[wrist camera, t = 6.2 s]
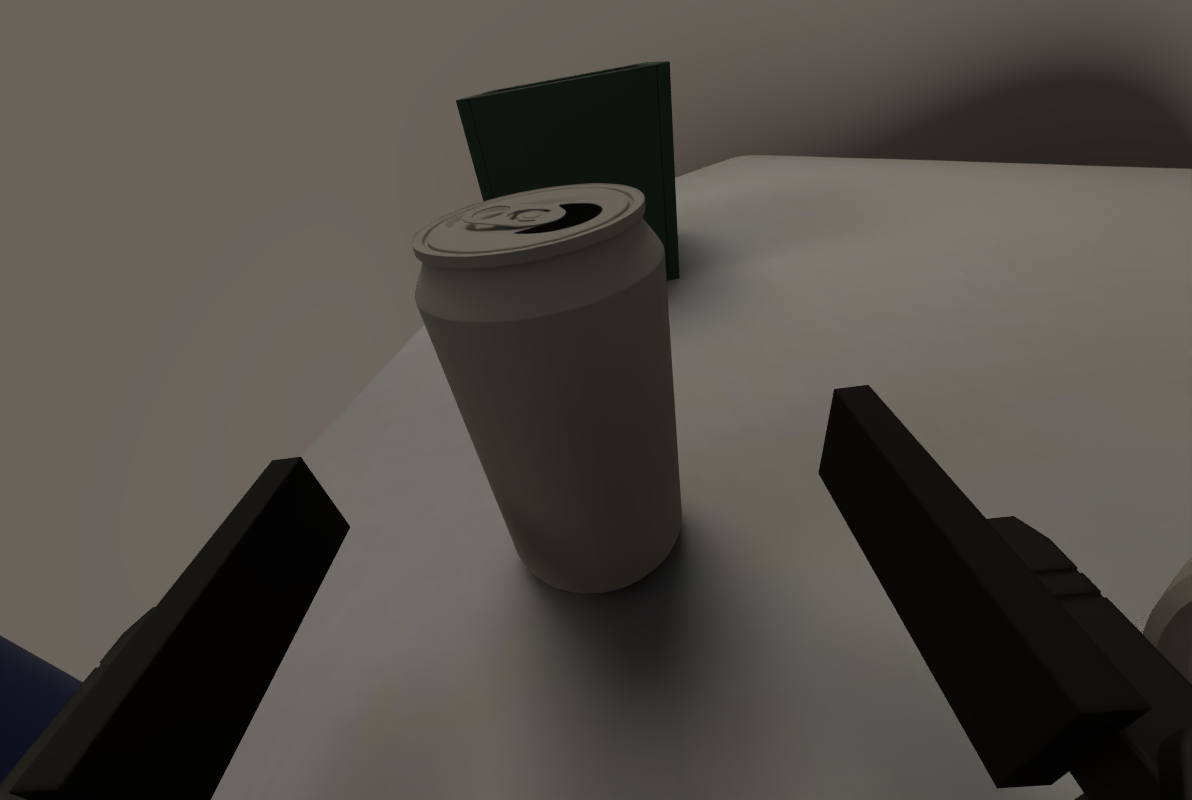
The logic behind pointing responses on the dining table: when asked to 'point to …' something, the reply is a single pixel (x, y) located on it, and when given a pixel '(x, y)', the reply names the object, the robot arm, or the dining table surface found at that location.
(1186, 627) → the mug
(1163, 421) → the dining table surface
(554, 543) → the beverage can
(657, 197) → the waste bin
